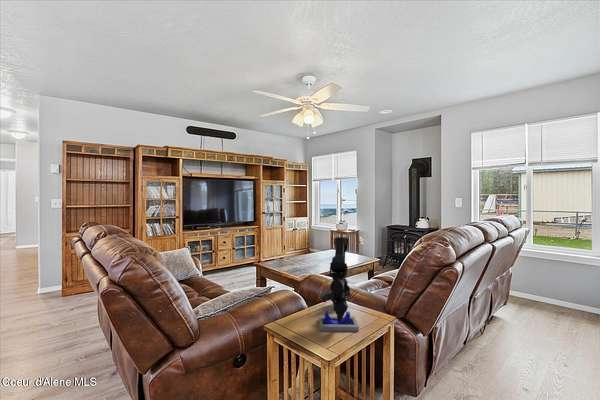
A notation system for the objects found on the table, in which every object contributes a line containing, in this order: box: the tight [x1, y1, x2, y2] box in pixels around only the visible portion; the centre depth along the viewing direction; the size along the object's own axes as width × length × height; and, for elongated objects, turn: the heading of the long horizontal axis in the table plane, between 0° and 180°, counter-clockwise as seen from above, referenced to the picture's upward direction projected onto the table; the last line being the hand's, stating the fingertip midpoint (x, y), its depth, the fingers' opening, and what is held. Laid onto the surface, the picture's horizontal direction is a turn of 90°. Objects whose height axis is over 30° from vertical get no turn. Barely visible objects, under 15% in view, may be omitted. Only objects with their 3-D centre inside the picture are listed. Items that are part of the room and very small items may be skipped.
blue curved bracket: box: [324, 310, 351, 325], centre depth 143 cm, size 12×4×6 cm, turn 87°
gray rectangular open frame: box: [318, 315, 360, 332], centre depth 142 cm, size 12×18×2 cm, turn 89°
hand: (338, 318), depth 142 cm, fingers open, 9 cm apart
